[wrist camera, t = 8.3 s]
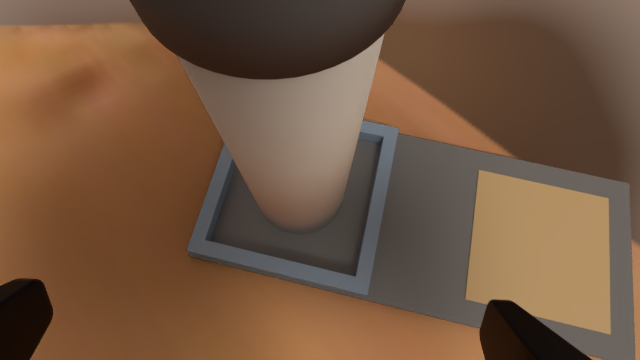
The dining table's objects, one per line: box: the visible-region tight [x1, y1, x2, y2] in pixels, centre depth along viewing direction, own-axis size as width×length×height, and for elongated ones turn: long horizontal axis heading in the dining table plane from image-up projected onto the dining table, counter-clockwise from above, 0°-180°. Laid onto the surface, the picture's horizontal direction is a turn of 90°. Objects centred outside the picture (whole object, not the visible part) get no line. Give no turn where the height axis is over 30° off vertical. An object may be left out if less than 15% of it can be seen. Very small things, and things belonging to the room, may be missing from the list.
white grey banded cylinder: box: [130, 0, 405, 234], centre depth 11 cm, size 4×4×14 cm
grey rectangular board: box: [186, 120, 635, 360], centre depth 17 cm, size 19×8×1 cm, turn 77°
